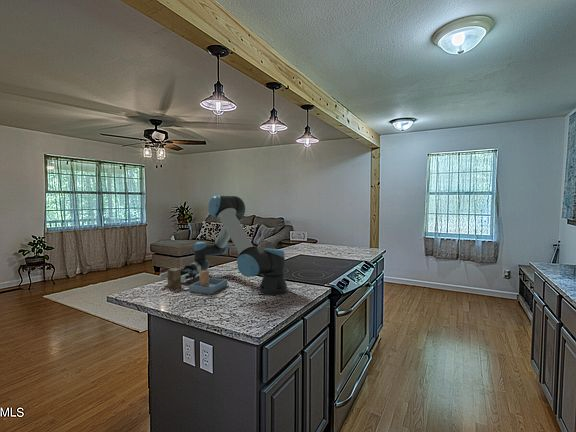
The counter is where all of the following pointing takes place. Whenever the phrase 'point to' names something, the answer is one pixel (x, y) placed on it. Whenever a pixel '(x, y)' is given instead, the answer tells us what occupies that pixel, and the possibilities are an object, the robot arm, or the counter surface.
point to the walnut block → (174, 278)
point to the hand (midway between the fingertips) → (170, 277)
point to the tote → (213, 286)
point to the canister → (204, 278)
